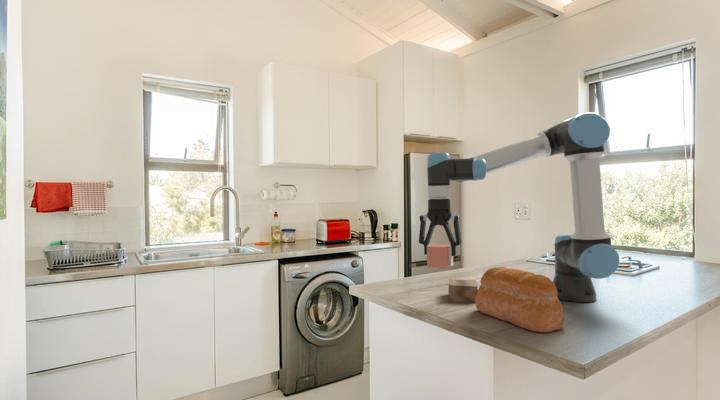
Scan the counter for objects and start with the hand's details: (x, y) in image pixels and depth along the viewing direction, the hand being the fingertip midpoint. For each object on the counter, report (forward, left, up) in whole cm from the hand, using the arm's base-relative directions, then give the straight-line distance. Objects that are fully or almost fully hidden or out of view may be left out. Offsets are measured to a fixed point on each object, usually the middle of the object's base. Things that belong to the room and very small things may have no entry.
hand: (440, 264), depth 135 cm
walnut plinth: (-5, -13, -14) cm, 20 cm away
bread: (-25, +4, -15) cm, 29 cm away
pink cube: (0, 0, 0) cm, 0 cm away
